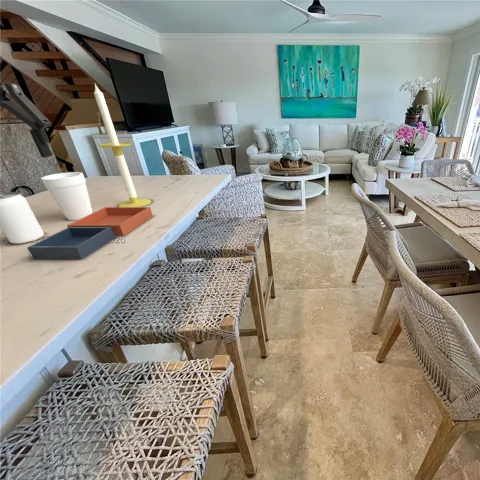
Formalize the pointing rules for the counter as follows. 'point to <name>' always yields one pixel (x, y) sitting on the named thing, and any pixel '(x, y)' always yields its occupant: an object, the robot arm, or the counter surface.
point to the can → (18, 219)
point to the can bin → (72, 243)
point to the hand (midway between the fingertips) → (17, 157)
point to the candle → (118, 154)
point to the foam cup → (69, 193)
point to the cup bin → (115, 219)
